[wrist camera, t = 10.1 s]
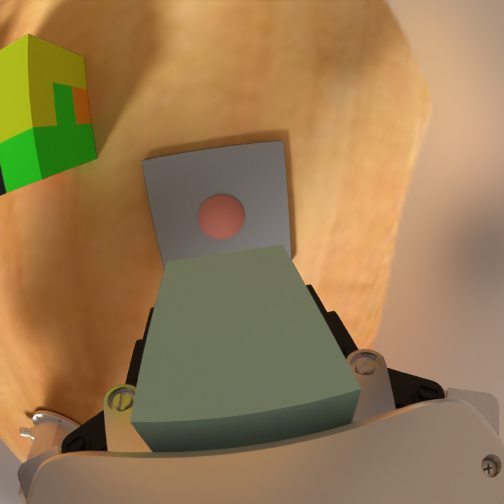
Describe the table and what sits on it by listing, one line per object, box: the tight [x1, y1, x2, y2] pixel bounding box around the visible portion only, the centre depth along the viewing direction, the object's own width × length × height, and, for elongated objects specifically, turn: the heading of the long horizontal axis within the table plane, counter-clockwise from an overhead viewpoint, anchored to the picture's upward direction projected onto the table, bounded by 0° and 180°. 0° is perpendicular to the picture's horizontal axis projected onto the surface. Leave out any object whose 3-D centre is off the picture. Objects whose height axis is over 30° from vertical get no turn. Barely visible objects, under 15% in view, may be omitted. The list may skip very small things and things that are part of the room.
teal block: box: [130, 244, 361, 452], centre depth 10 cm, size 5×5×8 cm
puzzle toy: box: [0, 34, 97, 196], centre depth 16 cm, size 10×10×10 cm
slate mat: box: [142, 141, 291, 270], centre depth 26 cm, size 12×12×1 cm
